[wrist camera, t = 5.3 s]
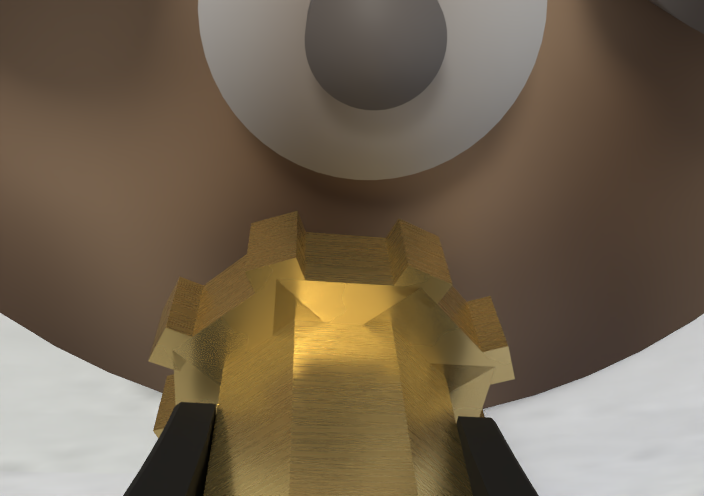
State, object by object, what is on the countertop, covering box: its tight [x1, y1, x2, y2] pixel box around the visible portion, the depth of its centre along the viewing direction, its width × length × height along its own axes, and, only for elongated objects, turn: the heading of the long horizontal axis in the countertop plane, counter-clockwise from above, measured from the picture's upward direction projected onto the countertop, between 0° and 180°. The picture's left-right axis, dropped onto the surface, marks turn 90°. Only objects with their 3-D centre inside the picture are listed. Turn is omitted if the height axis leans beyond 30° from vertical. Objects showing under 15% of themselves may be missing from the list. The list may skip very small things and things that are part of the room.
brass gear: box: [148, 211, 515, 496], centre depth 12 cm, size 7×7×6 cm
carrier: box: [0, 0, 704, 409], centre depth 10 cm, size 21×21×6 cm
